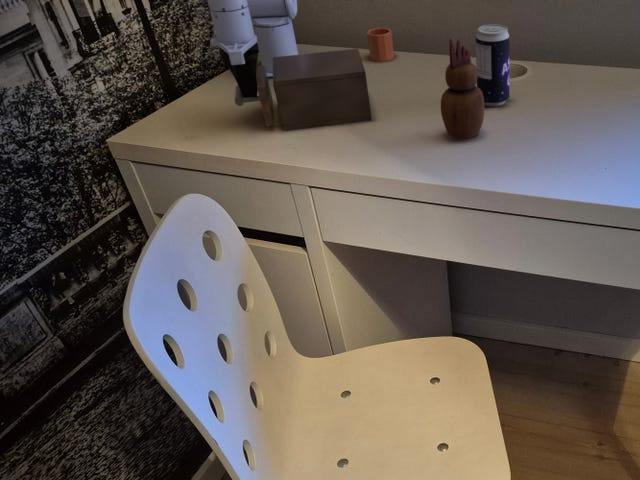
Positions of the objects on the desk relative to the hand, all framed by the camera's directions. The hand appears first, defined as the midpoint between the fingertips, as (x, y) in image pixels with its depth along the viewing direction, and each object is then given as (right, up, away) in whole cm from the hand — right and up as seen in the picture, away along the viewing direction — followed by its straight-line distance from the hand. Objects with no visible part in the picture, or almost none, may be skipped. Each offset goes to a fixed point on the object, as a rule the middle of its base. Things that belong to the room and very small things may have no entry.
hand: (251, 97), depth 111 cm
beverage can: (+41, +2, +7) cm, 41 cm away
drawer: (+6, -1, +3) cm, 7 cm away
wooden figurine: (+36, -8, -3) cm, 36 cm away
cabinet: (+11, -1, +5) cm, 13 cm away
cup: (+18, +18, +25) cm, 36 cm away
